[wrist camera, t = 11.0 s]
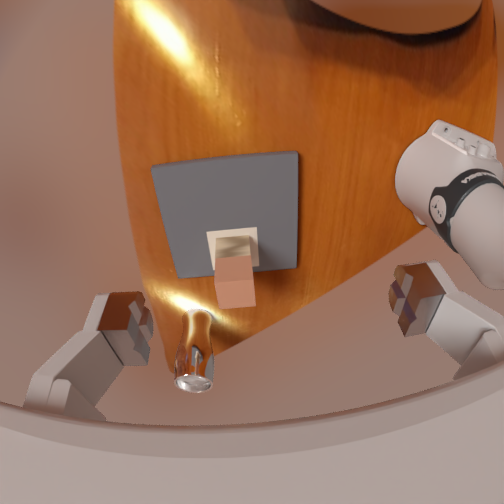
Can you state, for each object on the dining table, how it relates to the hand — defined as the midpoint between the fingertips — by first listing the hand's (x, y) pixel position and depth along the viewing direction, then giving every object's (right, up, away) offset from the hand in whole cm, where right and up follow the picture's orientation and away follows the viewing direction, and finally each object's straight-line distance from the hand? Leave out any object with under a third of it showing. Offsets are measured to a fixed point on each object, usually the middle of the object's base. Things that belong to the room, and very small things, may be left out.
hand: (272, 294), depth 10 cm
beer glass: (-11, -12, +51) cm, 54 cm away
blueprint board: (-4, +6, +38) cm, 38 cm away
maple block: (-3, +2, +40) cm, 40 cm away
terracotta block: (-3, -1, +36) cm, 36 cm away
